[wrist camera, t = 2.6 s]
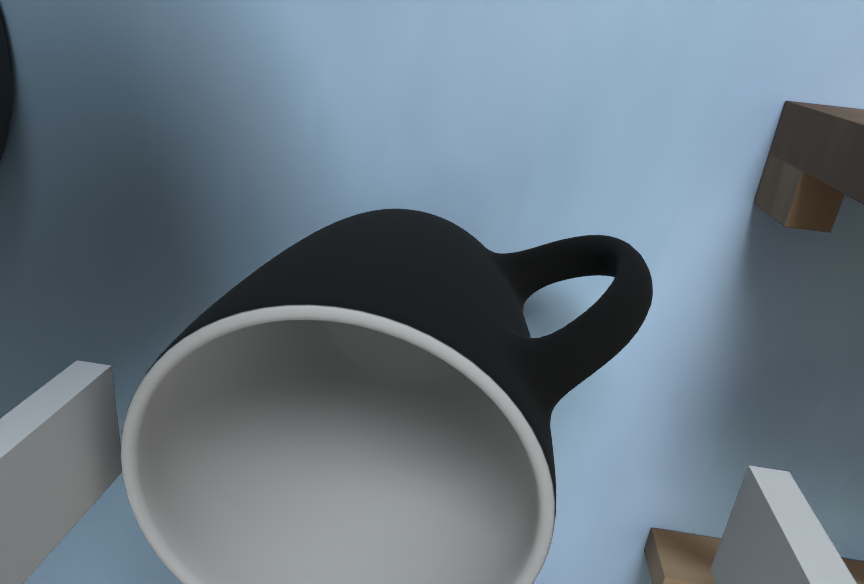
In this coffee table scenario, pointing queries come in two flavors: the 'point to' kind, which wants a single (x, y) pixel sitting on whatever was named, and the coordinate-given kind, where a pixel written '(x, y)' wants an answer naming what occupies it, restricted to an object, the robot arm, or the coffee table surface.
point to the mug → (371, 409)
